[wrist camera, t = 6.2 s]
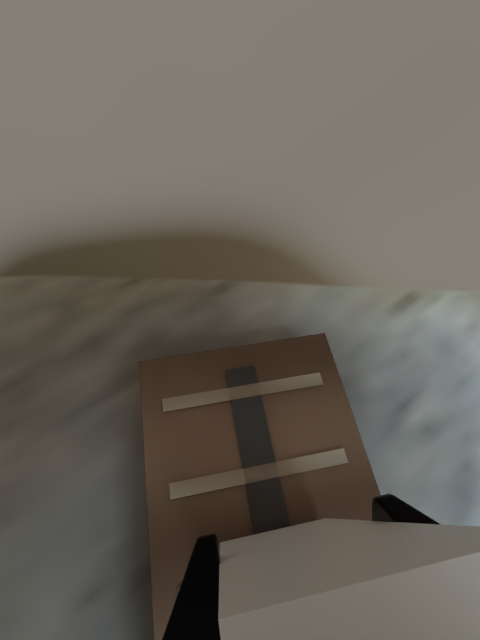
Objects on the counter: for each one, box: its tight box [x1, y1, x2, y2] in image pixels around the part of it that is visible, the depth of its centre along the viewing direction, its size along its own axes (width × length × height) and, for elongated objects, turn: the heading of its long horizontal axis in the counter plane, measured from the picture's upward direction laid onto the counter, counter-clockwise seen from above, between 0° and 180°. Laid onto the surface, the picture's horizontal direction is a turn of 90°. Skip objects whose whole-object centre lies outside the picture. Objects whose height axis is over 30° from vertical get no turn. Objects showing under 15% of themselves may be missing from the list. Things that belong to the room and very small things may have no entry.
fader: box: [218, 518, 480, 640], centre depth 7 cm, size 2×4×9 cm
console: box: [139, 333, 381, 640], centre depth 12 cm, size 15×8×3 cm, turn 11°
